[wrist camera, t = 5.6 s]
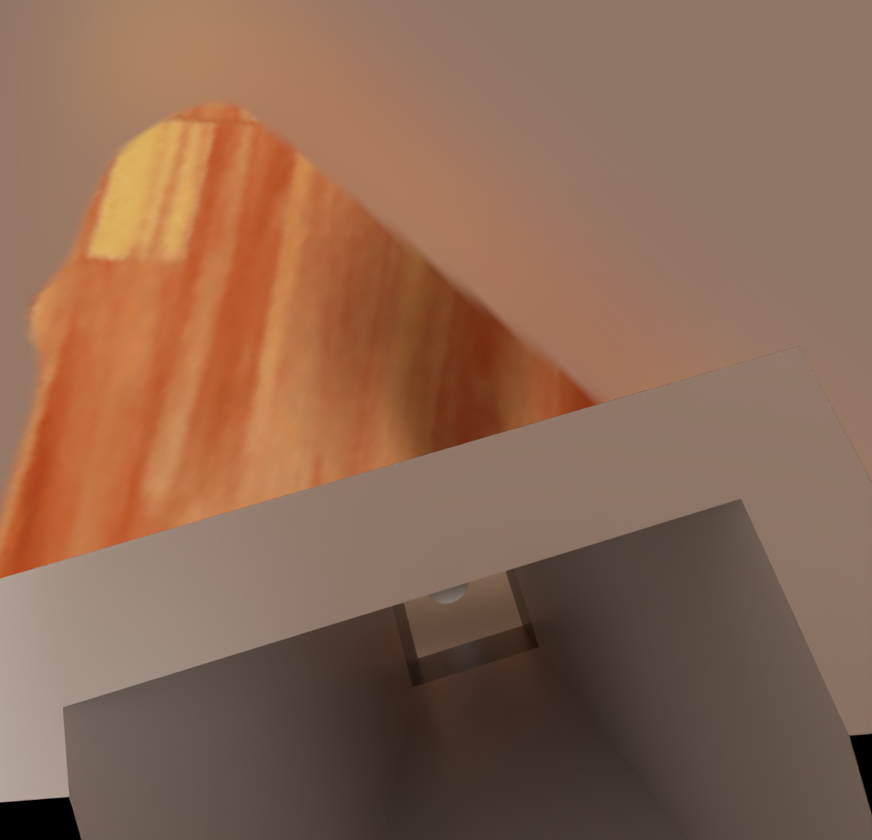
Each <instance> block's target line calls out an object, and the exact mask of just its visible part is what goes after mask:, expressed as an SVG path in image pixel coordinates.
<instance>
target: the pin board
mask: <svg viewBox="0 0 872 840" xmlns="http://www.w3.org/2000/svg"><path fill="white" fill-rule="evenodd" d="M404 605H405V609H406V613H407V617H408V621H409V625H410V629H411V633H412V637H413V641H414V645H415V649H416V652H417V656H418V658H421V657H424V656H427V655H430V654H433V653H437V652H440V651H443V650H446V649H449V648H452V647H456V646H459V645H462V644H465V643H468V642H472V641H475V640H478V639H481V638H484V637H487V636H491V635H494V634H497V633H500V632H503V631H506V630H510V629H513V628H516V627H519V626H522V622H521V619H520V616H519V612H518V609H517V606H516V603H515V600H514V596H513V593H512V590H511V587H510V584H509V580H508V577H507V574H506V571H504V572H501V573H498V574H494V575H491V576H488V577H485V578H481V579H478V580H475V581H472V582H468V583H465V584H462V585H459V586H455V587H452V588H449V589H446V590H442V591H439V592H436V593H433V594H429V595H426V596H423V597H420V598H416V599H413V600H410V601H407V602H404Z"/></svg>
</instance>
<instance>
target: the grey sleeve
mask: <svg viewBox="0 0 872 840" xmlns="http://www.w3.org/2000/svg"><path fill="white" fill-rule="evenodd" d="M504 571H506V574H507V577H508V580H509V584H510V587H511V590H512V593H513V596H514V600H515V603H516V606H517V609H518V612H519V616H520V619H521V622H522V626H519V627H516V628H513V629H510V630H506V631H503V632H500V633H497V634H494V635H491V636H487V637H484V638H481V639H478V640H475V641H472V642H468V643H465V644H462V645H459V646H456V647H452V648H449V649H446V650H443V651H440V652H437V653H433V654H430V655H427V656H424V657H421V658H418V656H417V652H416V649H415V645H414V641H413V637H412V633H411V629H410V625H409V621H408V617H407V613H406V609H405V605H404V602H407V601H410V600H413V599H416V598H420V597H423V596H426V595H429V594H433V593H436V592H439V591H442V590H446V589H449V588H452V587H455V586H459V585H462V584H465V583H468V582H472V581H475V580H478V579H481V578H485V577H488V576H491V575H494V574H498V573H501V572H504ZM0 840H872V481H871V479H870V477H869V475H868V473H867V472H866V470H865V468H864V466H863V465H862V462H861V460H860V458H859V457H858V455H857V453H856V451H855V449H854V447H853V445H852V443H851V441H850V440H849V438H848V436H847V434H846V432H845V430H844V428H843V426H842V425H841V423H840V421H839V419H838V417H837V415H836V413H835V412H834V410H833V408H832V406H831V404H830V402H829V400H828V398H827V397H826V395H825V393H824V391H823V389H822V387H821V385H820V383H819V381H818V380H817V378H816V376H815V374H814V372H813V370H812V368H811V366H810V364H809V363H808V361H807V359H806V357H805V355H804V353H803V351H802V349H801V347H800V346H797V347H794V348H790V349H787V350H784V351H780V352H777V353H773V354H770V355H767V356H763V357H760V358H756V359H753V360H749V361H746V362H742V363H739V364H736V365H732V366H729V367H725V368H722V369H718V370H715V371H711V372H709V373H705V374H701V375H698V376H694V377H691V378H687V379H684V380H680V381H677V382H674V383H670V384H667V385H663V386H660V387H657V388H653V389H650V390H646V391H643V392H639V393H636V394H632V395H629V396H626V397H623V398H619V399H615V400H612V401H608V402H605V403H602V404H598V405H595V406H591V407H588V408H584V409H581V410H577V411H574V412H571V413H567V414H564V415H560V416H557V417H553V418H550V419H547V420H543V421H540V422H536V423H533V424H529V425H526V426H523V427H519V428H516V429H512V430H509V431H505V432H502V433H498V434H495V435H492V436H488V437H485V438H481V439H478V440H474V441H471V442H468V443H464V444H461V445H457V446H454V447H450V448H447V449H444V450H440V451H437V452H433V453H430V454H426V455H423V456H420V457H416V458H413V459H409V460H406V461H402V462H399V463H395V464H392V465H389V466H385V467H382V468H378V469H375V470H371V471H368V472H365V473H361V474H358V475H354V476H351V477H347V478H344V479H341V480H337V481H334V482H330V483H327V484H323V485H320V486H317V487H313V488H310V489H306V490H303V491H299V492H296V493H292V494H289V495H286V496H282V497H279V498H275V499H272V500H268V501H265V502H262V503H258V504H255V505H251V506H248V507H244V508H241V509H238V510H234V511H231V512H227V513H224V514H220V515H217V516H213V517H210V518H207V519H203V520H200V521H196V522H193V523H189V524H186V525H183V526H179V527H176V528H172V529H169V530H165V531H162V532H159V533H155V534H152V535H148V536H145V537H141V538H138V539H135V540H131V541H128V542H124V543H121V544H117V545H114V546H110V547H107V548H104V549H100V550H97V551H93V552H90V553H86V554H83V555H80V556H76V557H73V558H69V559H66V560H62V561H59V562H56V563H52V564H49V565H45V566H42V567H38V568H35V569H31V570H28V571H25V572H21V573H18V574H14V575H11V576H7V577H4V578H1V579H0Z"/></svg>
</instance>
